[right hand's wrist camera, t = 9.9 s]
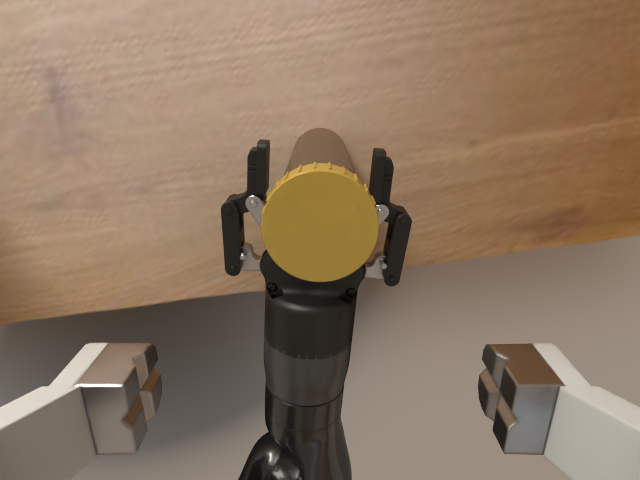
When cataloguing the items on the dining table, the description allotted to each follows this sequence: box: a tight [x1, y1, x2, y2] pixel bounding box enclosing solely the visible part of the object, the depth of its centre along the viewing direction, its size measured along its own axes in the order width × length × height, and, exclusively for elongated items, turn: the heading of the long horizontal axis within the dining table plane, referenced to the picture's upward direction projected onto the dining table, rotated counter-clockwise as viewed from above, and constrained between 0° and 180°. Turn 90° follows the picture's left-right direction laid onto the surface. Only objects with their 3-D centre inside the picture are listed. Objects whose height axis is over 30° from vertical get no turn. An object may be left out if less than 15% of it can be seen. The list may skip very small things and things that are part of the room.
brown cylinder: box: [284, 128, 355, 176], centre depth 30 cm, size 5×5×19 cm
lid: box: [261, 162, 379, 282], centre depth 21 cm, size 6×6×2 cm
